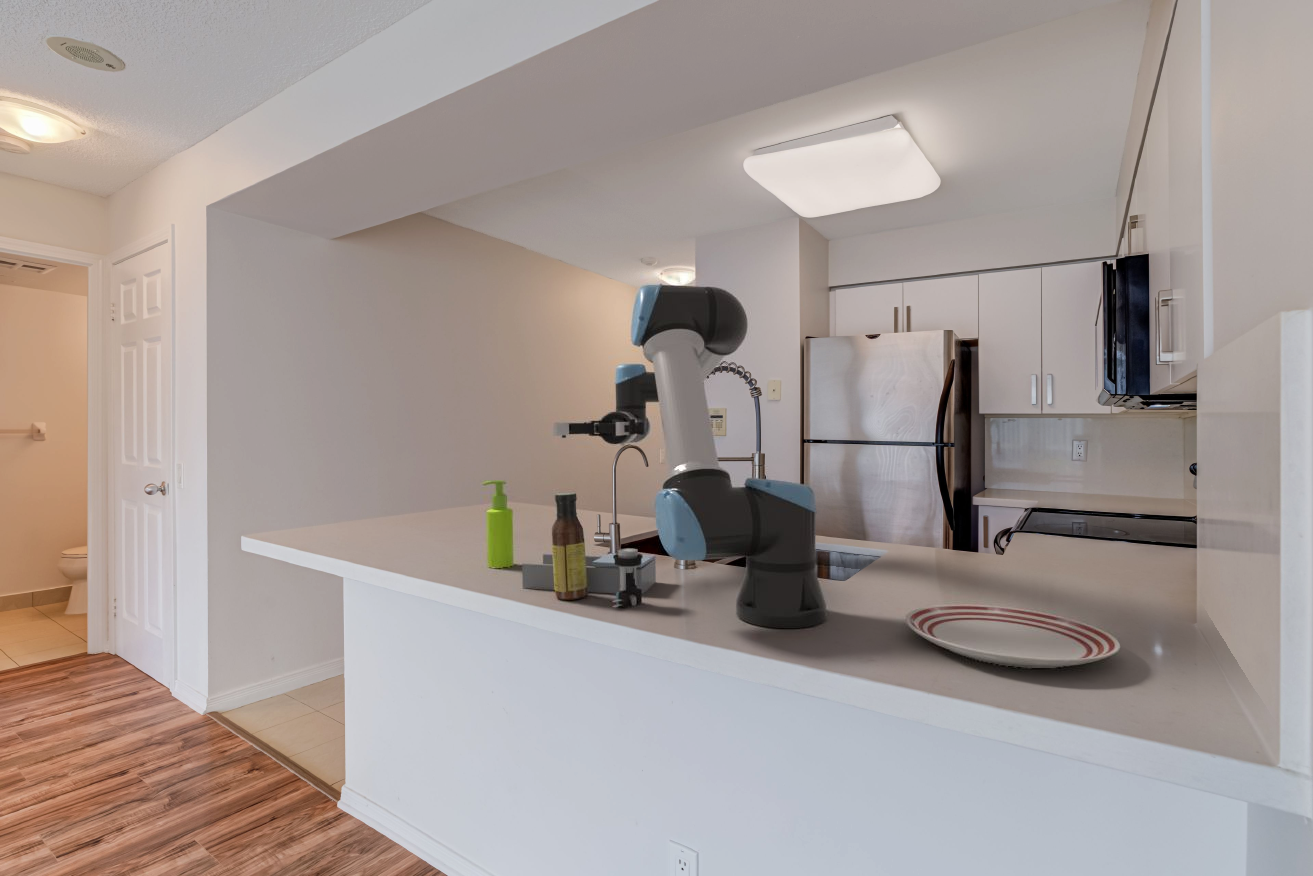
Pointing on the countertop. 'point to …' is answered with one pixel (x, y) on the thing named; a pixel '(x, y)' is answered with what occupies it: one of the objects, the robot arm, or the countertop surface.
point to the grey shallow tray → (597, 575)
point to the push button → (628, 578)
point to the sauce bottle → (568, 550)
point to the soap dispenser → (499, 529)
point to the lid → (610, 561)
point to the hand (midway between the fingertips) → (585, 429)
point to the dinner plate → (1012, 635)
